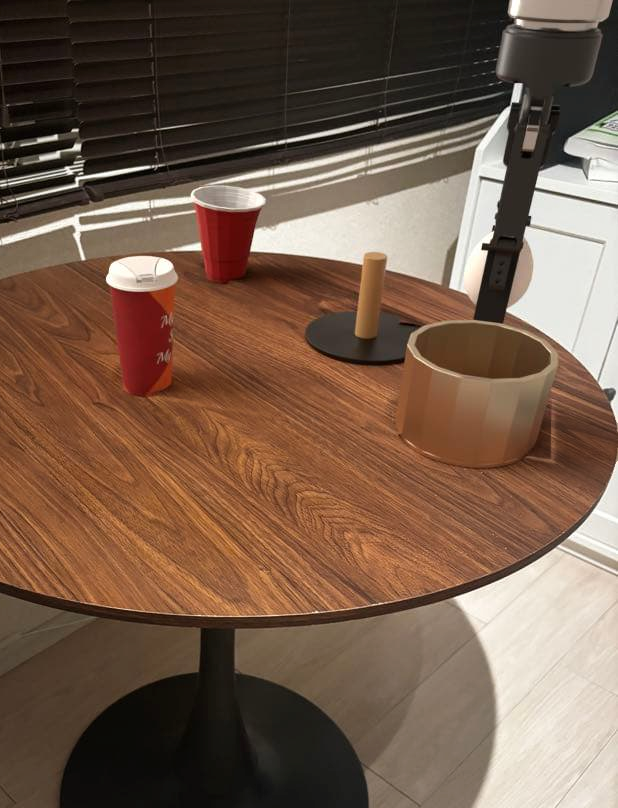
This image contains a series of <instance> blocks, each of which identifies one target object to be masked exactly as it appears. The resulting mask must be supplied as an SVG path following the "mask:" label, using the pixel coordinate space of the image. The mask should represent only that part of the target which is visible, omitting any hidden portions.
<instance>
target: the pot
mask: <svg viewBox="0 0 618 808" xmlns="http://www.w3.org/2000/svg"><path fill="white" fill-rule="evenodd" d="M419 328H420V329H418V330H416V331H415V332H413V333H412V334H411V335H410V338H409V341H408V344H407V350H406V356H405V361H404V362H403V369H402V374H401V375H402V376H401V380H400V382H401V383H400V386H399V387H400V388H399V393H398V395H399V396H398V400H397V405H396V413H395V418H394V424H395V426H396V428H397V429H398V432H399V433H397V435H398V437H399V439H400V440H401V441H402V442H403V443H404V444H405V445H406V446H407V447H409V448H410V449H411V450H413V451H414V452H416V453H417V454H420V455H422V456H424V457H427V458H428V459H431V460H433V461H436V462H439V463H443V464H446V465H450V466H456V467H463V468H471V469H492V468H493V469H494V468H499V467H500V468H501V467H506V466H510V465H513V464H516V463H518V462H521V461H522V460H524V459H525V458H526V457H528V453H529V452H530V451H531V450H532V449H533V448H534V447H535V446H536V444H537V442H538V441H537V440H538V437H539V434H540V430H541V427H542V423H543V420H544V416H545V413H546V409H547V405H548V402H549V398H550V395H551V391H552V389H553V386H554V385H553V384H554V381H555V379H556V374H557V371H558V368H559V352H558V351H557V350H556V349H555V348H554V347H553V346H552V345H551V344H550V343H549V342H548V341H547V340H546V339H544V338H542V337H540V336H538V335H536V334H534V333H532V332H530V331H528V330H526V329H521V328H519V327H515V326H512V325H507V324H504V323H503V324H501V323H493V322H485V321H478V320H473V319H459V320H458V319H455V320H454V319H451V320H450V319H449V320H443V321H438V322H433V323H429V324H426V325H425V324H424V325H422V326H421V327H419Z"/></svg>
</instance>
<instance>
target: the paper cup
mask: <svg viewBox="0 0 618 808" xmlns="http://www.w3.org/2000/svg"><path fill="white" fill-rule="evenodd" d="M108 268H109V269H108V274H107V275H106V278H105V281H106V283H107V285H109V289H110V290H109V291H110V297H111V305H112V306H111V307H112V313H113V314H112V315H113V320H114V328H115V335H116V337H115V338H116V345H117V351H118V359H119V366H120V373H121V380H122V383H123V388H124V390H125V392H127V393H128V394H130V395H133V396H137V397H145V398H147V397H156V396H159V394H157V393H156V392H160V391H163V390H165V389H167V388H168V387H170V385H171V384H172V380H173V379H172V376H173V359H174V358H173V356H174V355H173V353H174V327H175V326H174V325H175V295H176V294H175V293H176V292H175V291H176V283H177V282H178V280H179V276H178V274H177V272H176V271H175V266H174V264H173V263H172V262H171V261H170V260H168V259H166V258H163V257H159V256H151V255H136V256H135V255H134V256H127V257H123V258H120V259H117V260H115V261H112V263H111V264H110V266H109V267H108Z"/></svg>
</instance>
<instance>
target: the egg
mask: <svg viewBox="0 0 618 808" xmlns="http://www.w3.org/2000/svg"><path fill="white" fill-rule="evenodd" d="M493 233H494V231H493V232H492V231H491V232H490V233H488V234H486V235H485V236H484V237H482V239H481V240H480V241H479V242H478V243H477V244H476V246H475V247H474V248H473V249H472V252H471V253H470V255H469V257H468V259H467V262H466V266H465V269H464V275H463V280H464V289H465V291H466V294H467V296H468V298H469V299H470V301H471V302H472V303H473V304H474V305H475V306H476V304H477V299H478V295H479V290H480V285H481V281H482V276H483V271H484V267H485V262H486V257H487V252H488V251H484V250H481V247H482V243H489V244H490V240H491V239H492V238H493ZM507 237H508V236H507ZM523 243H524V244H523V249H521V252H520V255H519V259H518V263H517V268H516V272H515V276H514V280H513V284H512V289H511V293H510V297H509V301H508V305H507V309H509V308H511V307H512V306H514V305H515V304H516V303H518V302H519V301H520V300H521V299H522V298H523V297H524V296H525V294H526V292H527V291H528V289H529V287H530V285H531V282H532V279H533V272H534V258H533V254H532V253H533V252H532V249H531V246H530V244H529V242H528V240H527V239H526V237H525V236H524V237H523Z"/></svg>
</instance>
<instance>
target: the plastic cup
mask: <svg viewBox="0 0 618 808" xmlns="http://www.w3.org/2000/svg"><path fill="white" fill-rule="evenodd" d="M190 198H191V200H192V202H193V205H194V210H195V216H196V219H197V228H198V233H199V240H200V241H199V242H200V247H201V254H202V256H203V263H204V269H205V273H206V278H207V279H208V280H210V281H212V282H214V283H219V284H229V283H230V281H232V280H239V279H241V278H243V277H244V276H245V275H246V273H247V267H248V263H249V258H250V255H251V249H252V245H253V241H254V235H255V230H256V226H257V222H258V219H259V216H260V212H262V211H261V210H262V209H263V208H264V207H265V204H266V201H267V199H266V197H264V195H262V194H261V193H258V192H257V191H254V190H252V189H247V188H244V187H240V186H233V185H232V186H231V185H206V186H200V187H198V188H194V189H193V190H192V191H191V192H190Z"/></svg>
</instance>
